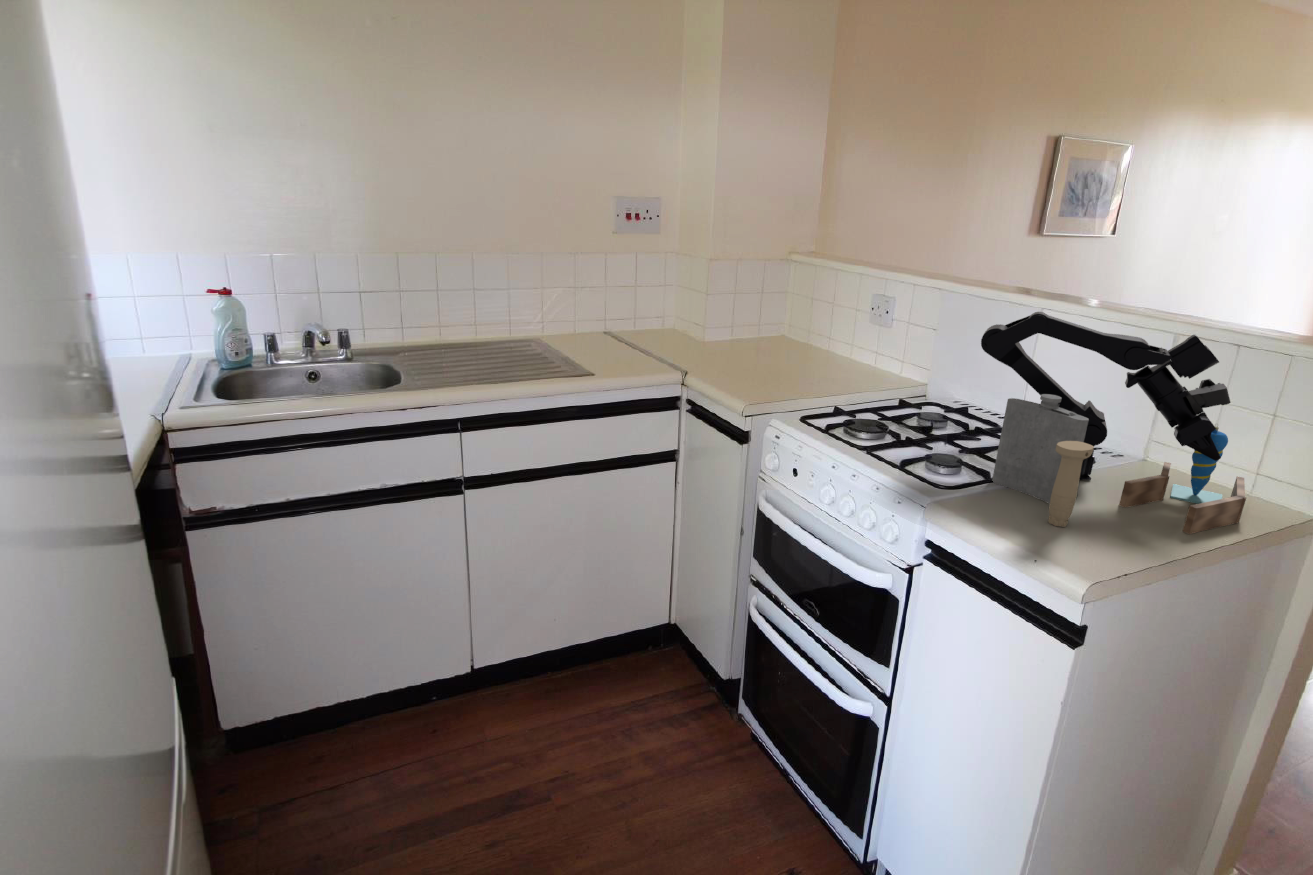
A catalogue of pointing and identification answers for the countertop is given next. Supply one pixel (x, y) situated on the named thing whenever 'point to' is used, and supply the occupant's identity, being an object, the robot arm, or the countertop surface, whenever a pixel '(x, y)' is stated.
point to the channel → (1198, 514)
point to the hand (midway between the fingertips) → (1215, 455)
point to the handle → (1067, 480)
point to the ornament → (1206, 462)
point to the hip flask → (1035, 444)
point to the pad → (1187, 495)
